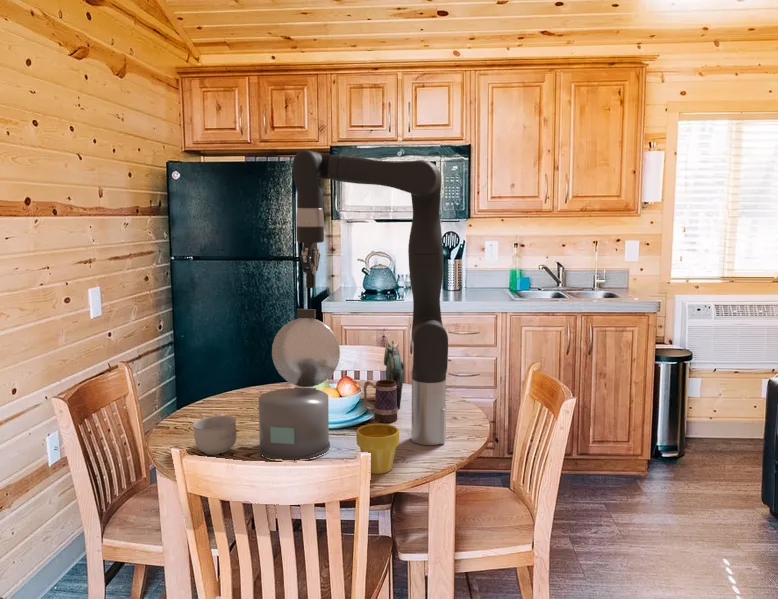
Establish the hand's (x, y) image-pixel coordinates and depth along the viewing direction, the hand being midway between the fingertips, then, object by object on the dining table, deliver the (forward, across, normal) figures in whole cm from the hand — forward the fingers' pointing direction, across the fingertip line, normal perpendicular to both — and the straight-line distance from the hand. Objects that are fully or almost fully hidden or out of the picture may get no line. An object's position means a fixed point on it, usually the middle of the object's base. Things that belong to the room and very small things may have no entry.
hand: (310, 287), depth 177 cm
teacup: (+41, -18, +21) cm, 50 cm away
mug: (+41, +12, -18) cm, 47 cm away
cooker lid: (+16, -5, 0) cm, 17 cm away
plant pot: (+41, -25, -23) cm, 54 cm away
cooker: (+41, -15, +1) cm, 44 cm away
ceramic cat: (+41, +32, -20) cm, 56 cm away
